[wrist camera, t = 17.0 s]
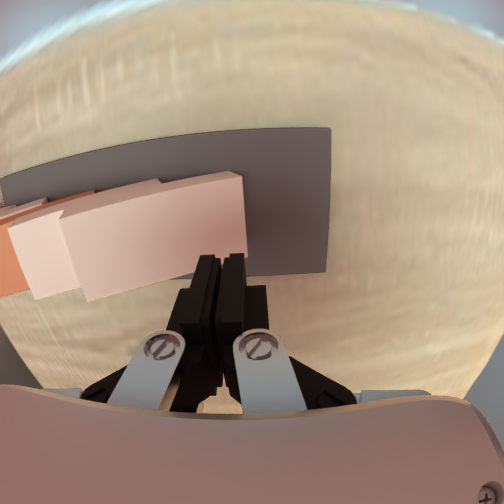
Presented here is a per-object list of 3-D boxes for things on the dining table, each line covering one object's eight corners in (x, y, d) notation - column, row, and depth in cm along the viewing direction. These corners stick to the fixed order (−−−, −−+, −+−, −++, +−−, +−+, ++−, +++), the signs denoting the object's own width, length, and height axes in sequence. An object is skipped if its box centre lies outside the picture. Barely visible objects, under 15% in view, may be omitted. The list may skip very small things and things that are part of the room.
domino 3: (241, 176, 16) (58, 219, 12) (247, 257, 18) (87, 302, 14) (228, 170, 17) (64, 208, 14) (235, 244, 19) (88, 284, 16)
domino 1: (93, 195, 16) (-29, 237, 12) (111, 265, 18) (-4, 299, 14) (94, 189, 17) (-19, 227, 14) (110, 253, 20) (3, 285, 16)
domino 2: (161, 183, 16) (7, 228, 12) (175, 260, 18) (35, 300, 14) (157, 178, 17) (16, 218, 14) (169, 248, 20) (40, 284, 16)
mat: (323, 268, 21) (325, 272, 21) (34, 277, 22) (31, 281, 21) (328, 127, 16) (330, 128, 16) (3, 177, 17) (-1, 179, 16)
